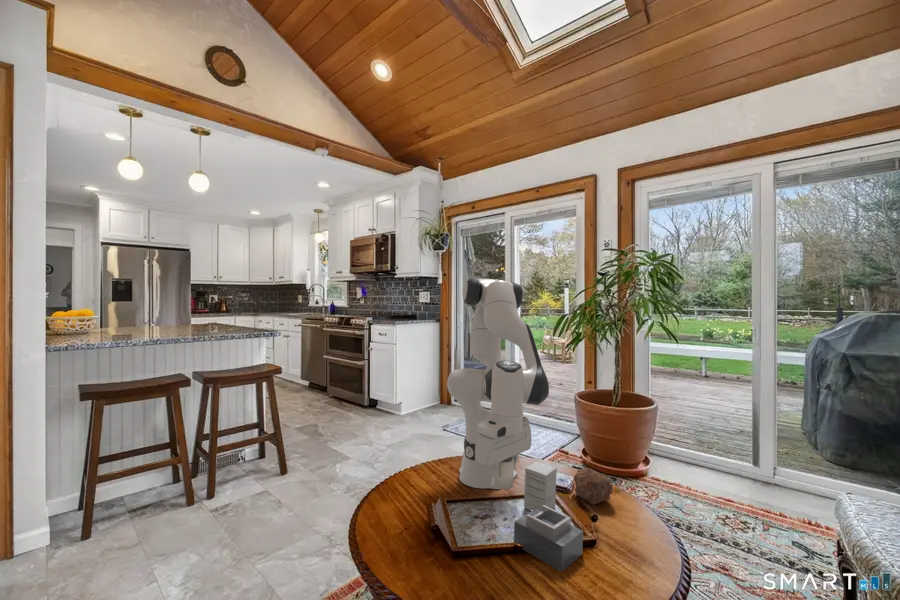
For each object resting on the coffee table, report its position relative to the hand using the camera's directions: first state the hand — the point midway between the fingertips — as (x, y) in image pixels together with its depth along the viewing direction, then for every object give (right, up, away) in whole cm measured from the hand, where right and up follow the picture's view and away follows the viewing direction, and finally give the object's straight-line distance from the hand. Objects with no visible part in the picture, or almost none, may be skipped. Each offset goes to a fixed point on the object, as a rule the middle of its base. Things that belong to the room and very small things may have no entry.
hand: (503, 473), depth 107 cm
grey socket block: (+12, -17, -4) cm, 21 cm away
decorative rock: (+32, -19, +22) cm, 43 cm away
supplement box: (+13, -18, +15) cm, 27 cm away
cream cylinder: (0, -3, 0) cm, 3 cm away
